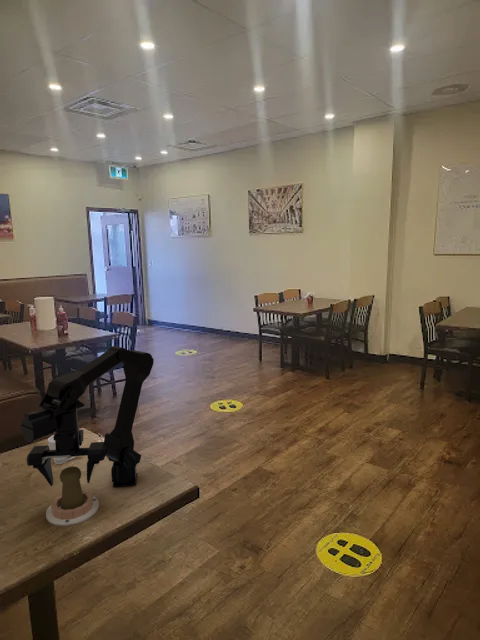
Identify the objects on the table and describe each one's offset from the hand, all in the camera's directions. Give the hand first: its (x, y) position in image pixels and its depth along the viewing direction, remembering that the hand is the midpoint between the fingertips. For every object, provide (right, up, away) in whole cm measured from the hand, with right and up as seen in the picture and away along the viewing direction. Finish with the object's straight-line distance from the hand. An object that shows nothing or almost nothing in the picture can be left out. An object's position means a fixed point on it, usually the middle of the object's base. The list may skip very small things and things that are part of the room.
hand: (70, 483), depth 113 cm
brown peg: (0, -7, +1) cm, 7 cm away
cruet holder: (0, -8, +1) cm, 8 cm away
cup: (-13, -3, +29) cm, 31 cm away
